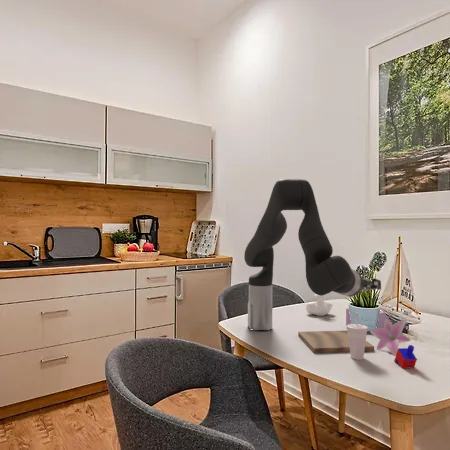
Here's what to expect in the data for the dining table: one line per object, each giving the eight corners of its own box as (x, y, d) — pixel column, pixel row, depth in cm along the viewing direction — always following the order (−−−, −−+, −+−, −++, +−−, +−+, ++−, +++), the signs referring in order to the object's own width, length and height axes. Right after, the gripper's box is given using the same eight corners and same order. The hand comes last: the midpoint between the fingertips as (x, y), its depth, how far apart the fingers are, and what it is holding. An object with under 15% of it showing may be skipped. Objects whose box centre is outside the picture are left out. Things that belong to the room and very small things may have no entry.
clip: (387, 321, 160) (387, 305, 160) (406, 330, 148) (406, 312, 148) (342, 323, 157) (342, 306, 157) (357, 332, 145) (357, 314, 145)
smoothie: (364, 354, 122) (365, 310, 121) (370, 361, 115) (370, 315, 115) (344, 353, 122) (344, 309, 122) (348, 360, 116) (348, 314, 116)
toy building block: (400, 372, 111) (407, 352, 107) (394, 361, 115) (400, 341, 111) (412, 372, 111) (419, 352, 107) (405, 360, 115) (412, 341, 111)
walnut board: (313, 352, 123) (314, 348, 123) (298, 335, 141) (298, 331, 140) (374, 351, 124) (374, 346, 124) (351, 334, 142) (351, 330, 142)
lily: (367, 346, 133) (362, 325, 129) (397, 331, 134) (393, 310, 130) (390, 369, 122) (385, 347, 118) (422, 353, 123) (418, 330, 119)
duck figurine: (306, 320, 171) (311, 303, 163) (302, 306, 176) (307, 290, 169) (332, 319, 171) (338, 303, 164) (328, 306, 177) (333, 289, 170)
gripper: (373, 267, 102) (383, 273, 115) (320, 268, 109) (335, 274, 123) (374, 295, 100) (384, 299, 114) (320, 295, 107) (336, 298, 121)
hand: (359, 286), depth 118 cm, fingers open, 8 cm apart
